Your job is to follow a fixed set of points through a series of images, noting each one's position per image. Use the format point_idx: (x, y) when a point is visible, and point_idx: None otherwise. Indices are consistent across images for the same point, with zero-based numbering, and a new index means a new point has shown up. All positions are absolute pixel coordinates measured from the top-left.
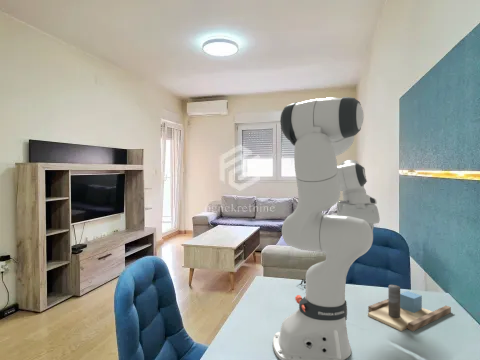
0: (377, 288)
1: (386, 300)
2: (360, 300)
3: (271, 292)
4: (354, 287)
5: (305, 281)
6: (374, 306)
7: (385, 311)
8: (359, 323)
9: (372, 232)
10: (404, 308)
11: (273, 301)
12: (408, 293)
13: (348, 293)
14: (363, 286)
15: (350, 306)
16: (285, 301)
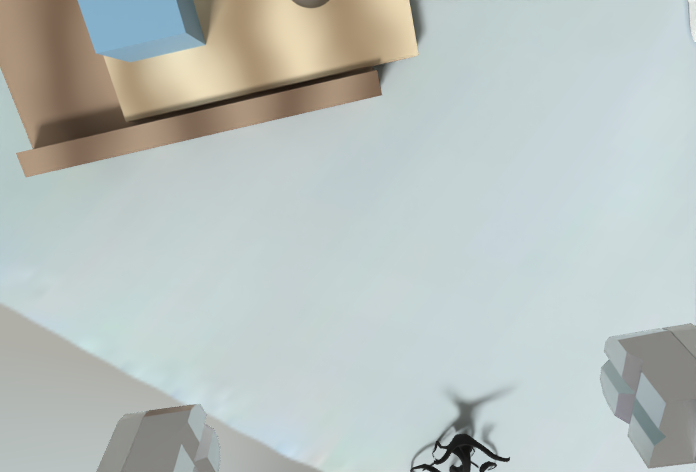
0: (108, 334)
1: (232, 121)
2: (305, 236)
3: None
4: (224, 379)
5: (491, 452)
6: (353, 80)
7: (319, 34)
8: (486, 29)
9: (113, 455)
10: (197, 16)
11: None
12: (123, 17)
13: (306, 325)
14: (167, 377)
15: (401, 195)
16: None
